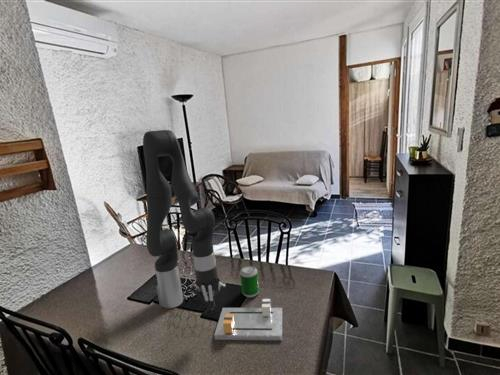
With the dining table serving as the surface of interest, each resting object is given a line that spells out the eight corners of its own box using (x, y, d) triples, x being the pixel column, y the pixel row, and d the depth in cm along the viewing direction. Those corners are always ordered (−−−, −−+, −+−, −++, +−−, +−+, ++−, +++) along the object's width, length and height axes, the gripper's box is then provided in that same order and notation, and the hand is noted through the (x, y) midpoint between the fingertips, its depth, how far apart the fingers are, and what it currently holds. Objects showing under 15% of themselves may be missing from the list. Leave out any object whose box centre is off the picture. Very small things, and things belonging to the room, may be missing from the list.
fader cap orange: (223, 332, 105) (222, 322, 104) (226, 323, 110) (225, 313, 109) (232, 333, 104) (231, 322, 103) (234, 323, 109) (233, 313, 108)
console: (214, 341, 105) (213, 336, 104) (223, 311, 120) (222, 307, 119) (282, 342, 102) (281, 337, 101) (282, 312, 117) (282, 307, 116)
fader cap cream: (262, 316, 112) (261, 306, 111) (263, 307, 117) (262, 297, 116) (270, 316, 111) (269, 306, 110) (271, 307, 116) (270, 297, 115)
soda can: (257, 299, 126) (255, 274, 123) (240, 298, 128) (238, 273, 125) (260, 288, 133) (258, 265, 130) (244, 288, 135) (242, 264, 132)
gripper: (183, 270, 99) (190, 315, 103) (221, 269, 97) (227, 315, 101) (190, 260, 106) (196, 302, 110) (225, 258, 104) (231, 301, 108)
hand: (211, 308), depth 106 cm, fingers closed
